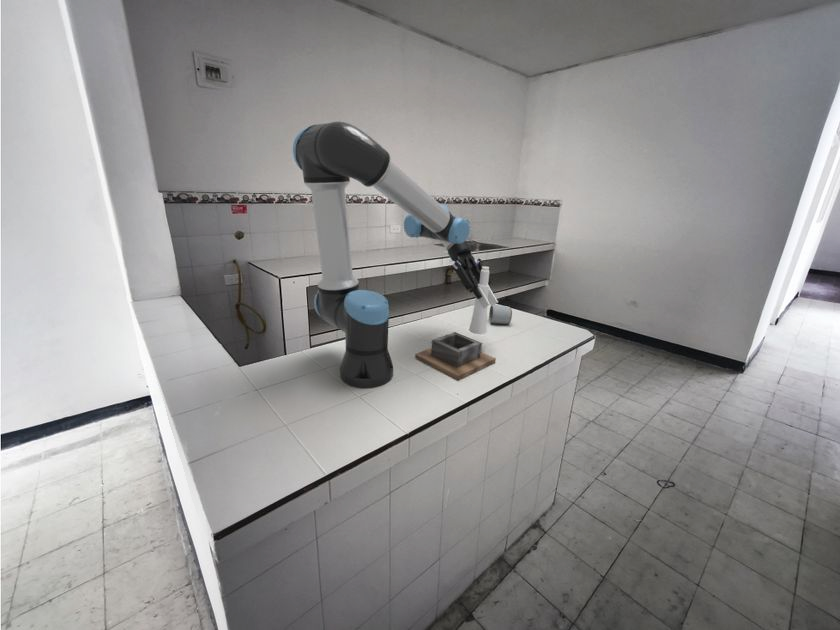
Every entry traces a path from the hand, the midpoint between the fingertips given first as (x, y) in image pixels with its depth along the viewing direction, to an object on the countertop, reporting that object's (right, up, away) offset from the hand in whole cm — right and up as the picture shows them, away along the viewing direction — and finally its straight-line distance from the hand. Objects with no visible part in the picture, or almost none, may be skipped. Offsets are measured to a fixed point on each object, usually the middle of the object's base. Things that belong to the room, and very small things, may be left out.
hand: (490, 305), depth 119 cm
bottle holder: (-12, -18, -2) cm, 21 cm away
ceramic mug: (+10, -6, +34) cm, 36 cm away
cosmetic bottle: (-3, -9, +6) cm, 11 cm away
